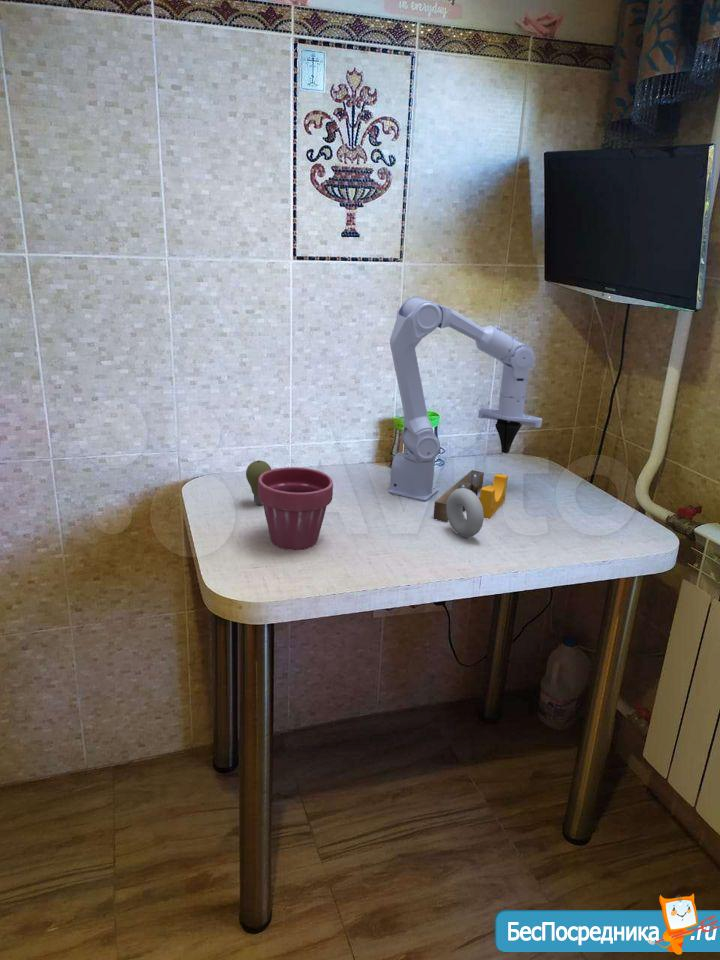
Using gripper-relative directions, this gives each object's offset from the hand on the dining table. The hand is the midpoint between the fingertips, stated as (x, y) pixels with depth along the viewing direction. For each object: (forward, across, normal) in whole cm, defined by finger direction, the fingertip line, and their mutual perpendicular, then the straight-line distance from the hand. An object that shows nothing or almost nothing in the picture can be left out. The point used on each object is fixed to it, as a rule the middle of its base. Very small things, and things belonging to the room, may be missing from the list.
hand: (505, 451), depth 168 cm
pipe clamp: (+10, -1, +13) cm, 16 cm away
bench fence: (+9, +6, +14) cm, 18 cm away
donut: (+10, -1, +30) cm, 32 cm away
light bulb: (+10, +42, +40) cm, 59 cm away
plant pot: (+10, +26, +51) cm, 58 cm away
